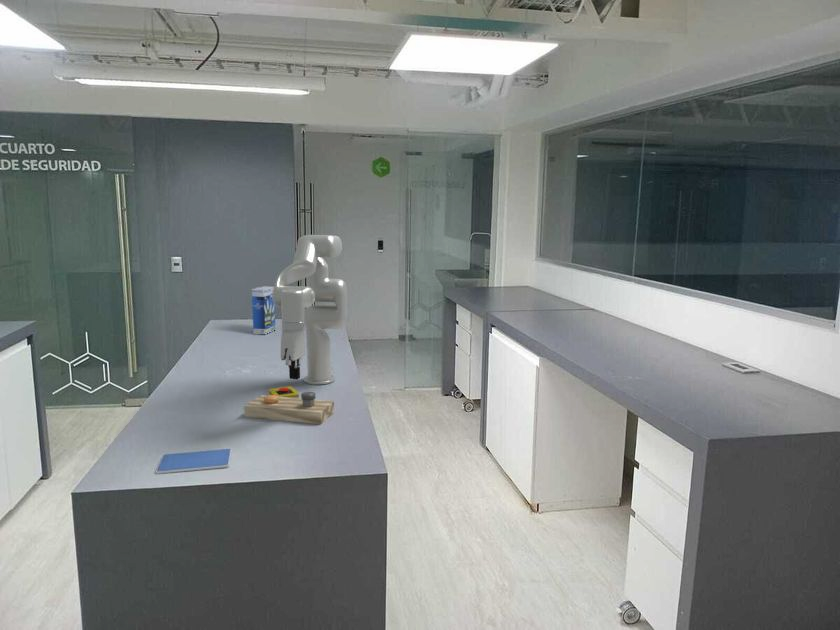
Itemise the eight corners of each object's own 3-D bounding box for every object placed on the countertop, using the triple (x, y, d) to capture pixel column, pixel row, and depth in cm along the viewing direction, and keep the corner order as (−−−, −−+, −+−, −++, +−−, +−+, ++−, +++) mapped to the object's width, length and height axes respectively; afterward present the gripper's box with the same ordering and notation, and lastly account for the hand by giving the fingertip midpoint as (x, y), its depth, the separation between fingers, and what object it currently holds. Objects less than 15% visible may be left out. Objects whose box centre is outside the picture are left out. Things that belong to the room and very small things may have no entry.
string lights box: (265, 335, 338) (263, 289, 334) (252, 334, 340) (250, 288, 335) (276, 330, 351) (274, 286, 346) (263, 329, 353) (262, 285, 348)
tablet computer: (154, 476, 164) (154, 471, 164) (162, 457, 176) (162, 453, 176) (229, 469, 169) (229, 465, 168) (232, 451, 181) (232, 447, 180)
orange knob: (268, 409, 216) (267, 394, 215) (280, 410, 215) (280, 395, 214) (262, 413, 211) (261, 398, 210) (274, 415, 210) (274, 399, 209)
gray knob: (305, 406, 212) (304, 391, 211) (317, 407, 211) (317, 392, 210) (299, 410, 208) (298, 395, 207) (312, 412, 207) (312, 396, 206)
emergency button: (276, 395, 220) (266, 384, 233) (277, 407, 221) (266, 395, 234) (301, 391, 224) (289, 381, 237) (301, 403, 225) (290, 392, 238)
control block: (261, 405, 220) (261, 395, 220) (334, 412, 214) (334, 401, 213) (244, 416, 209) (244, 405, 208) (321, 423, 203) (320, 412, 202)
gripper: (293, 321, 213) (294, 372, 216) (272, 329, 199) (274, 383, 202) (312, 322, 211) (314, 373, 215) (293, 331, 197) (295, 385, 200)
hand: (294, 378), depth 208 cm, fingers closed
